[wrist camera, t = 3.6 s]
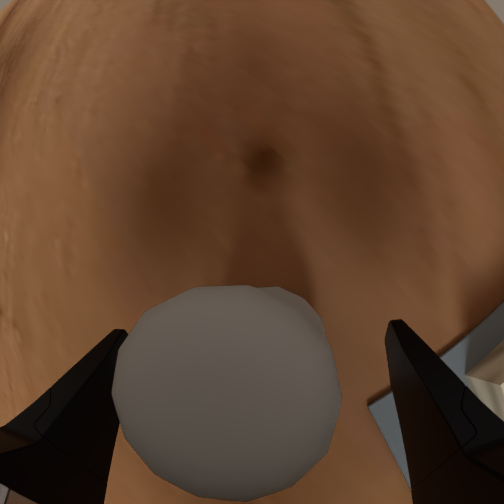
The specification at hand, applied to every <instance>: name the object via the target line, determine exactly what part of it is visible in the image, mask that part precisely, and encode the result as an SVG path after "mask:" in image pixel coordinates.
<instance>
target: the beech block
mask: <svg viewBox="0 0 504 504" xmlns="http://www.w3.org/2000/svg"><path fill="white" fill-rule="evenodd" d="M465 377H466V379H467V382H468V384H469V387H470V389H471V391H472V392H473V393H474V394H475V395H476V396H477V397H478V398H479V399H480V400H481V401H482V402H483V403H484V404H485V405H486V406H487V407H488V408H489V409H490V410H491V411H493V412H494V413H495V414H496V415H497V416H498V417H499V418H501V419H502V420H503V421H504V340H503V341H502V342H501V343H500V344H499V345H498V346H497V347H496V348H494V349H493V350H492V351H491V352H490V353H489V354H488V355H487V356H486V357H485V358H484V359H482V360H481V361H480V362H479V363H478V364H477V365H476V366H474V367H473V368H472V369H471V370H470V371H469V372H467V373H466V374H465Z"/></svg>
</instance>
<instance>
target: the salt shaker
mask: <svg viewBox="0 0 504 504" xmlns="http://www.w3.org/2000/svg"><path fill="white" fill-rule="evenodd" d="M111 394H112V397H113V401H114V404H115V408H116V411H117V415H118V418H119V421H120V424H121V427H122V430H123V434H124V437H125V439H126V440H127V441H128V442H129V444H130V445H131V446H132V448H133V449H134V450H135V451H136V453H137V454H138V455H139V456H140V458H141V459H142V460H143V461H144V462H145V464H146V465H147V466H148V467H149V468H150V469H151V471H152V472H153V473H154V474H155V475H157V476H159V477H160V478H162V479H164V480H166V481H168V482H169V483H171V484H173V485H175V486H177V487H179V488H181V489H183V490H185V491H187V492H189V493H191V494H193V495H195V496H197V497H203V498H210V499H219V500H228V501H240V502H248V501H251V500H254V499H258V498H261V497H264V496H267V495H270V494H273V493H276V492H278V491H281V490H284V489H287V488H289V487H292V486H293V485H294V484H295V483H296V482H298V481H299V480H300V479H301V478H302V477H303V476H304V475H305V474H306V473H307V472H308V471H309V470H310V469H311V468H312V467H313V466H314V465H315V464H316V463H317V462H319V461H320V460H321V459H322V457H323V456H324V455H325V454H326V453H327V452H328V449H329V445H330V442H331V439H332V435H333V432H334V428H335V425H336V421H337V417H338V414H339V410H340V406H341V398H342V394H341V389H340V384H339V380H338V375H337V370H336V366H335V361H334V357H333V352H332V348H331V346H330V345H329V344H328V342H327V339H326V334H325V330H324V326H323V321H322V318H321V317H320V316H319V315H318V314H317V313H316V312H315V310H314V309H313V308H312V307H311V306H310V305H309V304H308V302H307V301H306V300H305V299H304V298H302V297H300V296H298V295H296V294H293V293H291V292H289V291H287V290H285V289H283V288H281V287H261V288H254V287H252V286H250V285H236V286H202V287H196V288H192V289H189V290H187V291H185V292H183V293H181V294H179V295H177V296H175V297H173V298H171V299H169V300H167V301H165V302H163V303H161V304H159V305H157V306H155V307H153V308H151V309H149V310H147V311H145V312H144V314H143V315H142V316H141V318H140V319H139V321H138V322H137V323H136V325H135V326H134V328H133V329H132V331H131V332H130V334H129V335H128V336H127V338H126V339H125V341H124V342H123V344H122V345H121V347H120V348H119V350H118V356H117V362H116V368H115V374H114V380H113V387H112V393H111Z"/></svg>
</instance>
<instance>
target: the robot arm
mask: <svg viewBox="0 0 504 504" xmlns="http://www.w3.org/2000/svg"><path fill="white" fill-rule="evenodd" d="M127 336H128V333H127V332H126V330H124V329H114V330H113V331H112V332H111V333H109V334H108V335H107V336H106V337H105V338H104V339H103V340H102V341H100V342H99V343H98V344H97V345H96V346H95V347H94V348H93V349H92V350H91V351H89V352H88V353H87V354H86V355H85V356H84V357H83V358H82V359H81V360H80V361H78V362H77V363H76V364H75V365H74V366H73V367H72V368H71V369H70V370H69V371H68V372H67V373H65V374H64V375H63V376H62V377H61V378H60V379H59V380H58V381H57V382H56V383H55V384H54V385H53V386H52V387H51V388H49V389H48V390H47V391H46V392H45V393H44V394H43V395H42V396H41V397H39V398H38V399H37V400H36V401H35V402H34V403H33V404H31V405H30V406H29V407H28V408H27V409H25V410H24V411H23V412H21V413H20V414H19V415H18V416H16V417H15V418H14V419H13V420H11V421H10V422H9V423H7V424H6V425H4V426H2V427H0V504H104V500H105V494H106V488H107V481H108V476H109V471H110V466H111V461H112V456H113V451H114V446H115V441H116V437H117V432H118V428H119V423H120V421H119V418H118V415H117V411H116V408H115V404H114V401H113V397H112V394H111V393H112V387H113V380H114V374H115V368H116V362H117V356H118V350H119V348H120V347H121V345H122V344H123V342H124V341H125V339H126V338H127ZM385 346H386V353H387V361H388V368H389V376H390V383H391V388H392V392H393V397H394V401H395V405H396V410H397V414H398V419H399V424H400V429H401V433H402V439H403V444H404V449H405V455H406V460H407V466H408V472H409V478H410V485H411V489H412V490H411V492H412V500H413V504H504V421H503V420H502V419H501V418H499V417H498V416H497V415H496V414H495V413H494V412H493V411H491V410H490V409H489V408H488V407H487V406H486V405H485V404H484V403H483V402H482V401H481V400H480V399H479V398H478V397H477V396H476V395H475V394H474V393H473V392H472V391H471V390H470V389H469V388H468V387H467V386H466V385H465V384H464V382H463V381H462V380H461V379H460V378H459V377H458V376H457V375H456V374H455V373H454V372H453V371H452V370H451V369H450V368H449V367H448V366H447V365H446V364H445V362H444V361H443V360H442V359H441V358H440V357H439V356H438V355H437V354H436V353H435V352H434V351H433V350H432V349H431V348H430V347H429V346H428V345H427V344H426V343H425V342H424V341H423V340H422V339H421V338H420V337H419V336H418V335H417V334H416V333H415V332H414V331H413V330H412V329H411V328H410V327H409V326H408V325H407V324H406V323H405V322H404V321H403V320H401V319H397V320H391V321H390V322H389V324H388V328H387V332H386V336H385Z"/></svg>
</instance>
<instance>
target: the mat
mask: <svg viewBox="0 0 504 504" xmlns="http://www.w3.org/2000/svg"><path fill="white" fill-rule="evenodd" d="M503 340H504V302H503V303H501V304H500V305H499V306H498V307H497V308H496V309H495V310H494V311H493V312H492V313H491V314H490V315H489V316H488V317H487V318H485V319H484V320H483V321H482V322H481V323H480V324H479V325H478V326H476V327H475V328H474V329H473V330H472V331H471V332H470V333H468V334H467V335H466V336H465V337H464V338H462V339H461V340H460V341H459V342H458V343H456V344H455V345H454V346H453V347H451V348H450V349H449V350H448V351H446V352H445V353H444V354H442V355H441V356H440V358H441V359H442V360H443V361H444V362H445V364H446V365H447V366H448V367H449V368H450V369H451V370H452V371H453V372H454V373H455V374H456V375H457V376H458V377H459V378H460V379H461V380H462V381H463V382H464V384H465V385H466V386H467V387H468V388H469V389H470V387H469V384H468V382H467V379H466V377H465V374H466V373H467V372H469V371H470V370H471V369H472V368H473V367H474V366H476V365H477V364H478V363H479V362H480V361H481V360H482V359H484V358H485V357H486V356H487V355H488V354H489V353H490V352H491V351H492V350H493V349H494V348H496V347H497V346H498V345H499V344H500V343H501V342H502V341H503ZM470 390H471V389H470ZM368 408H369V410H370V412H371V414H372V416H373V417H374V419H375V421H376V423H377V425H378V427H379V429H380V431H381V433H382V434H383V436H384V438H385V440H386V442H387V444H388V446H389V448H390V450H391V452H392V453H393V455H394V457H395V459H396V461H397V463H398V465H399V467H400V469H401V471H402V473H403V475H404V477H405V479H406V481H407V483H408V485H409V487H410V489H411V485H410V478H409V472H408V466H407V460H406V455H405V449H404V444H403V439H402V433H401V429H400V424H399V419H398V414H397V410H396V405H395V401H394V397H393V392H392V391H390V392H389V393H387V394H385V395H384V396H382V397H381V398H379V399H377V400H376V401H374V402H373V403H371V404H369V405H368ZM411 490H412V489H411Z"/></svg>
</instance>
